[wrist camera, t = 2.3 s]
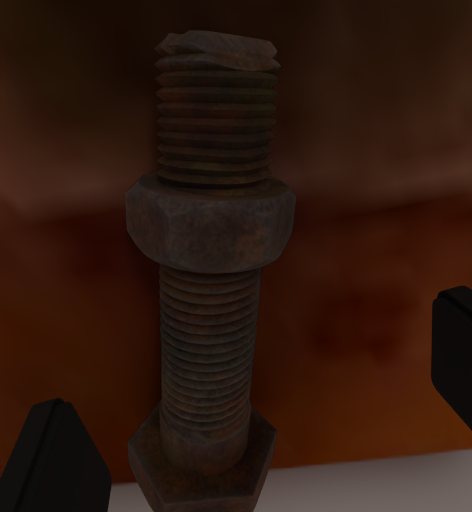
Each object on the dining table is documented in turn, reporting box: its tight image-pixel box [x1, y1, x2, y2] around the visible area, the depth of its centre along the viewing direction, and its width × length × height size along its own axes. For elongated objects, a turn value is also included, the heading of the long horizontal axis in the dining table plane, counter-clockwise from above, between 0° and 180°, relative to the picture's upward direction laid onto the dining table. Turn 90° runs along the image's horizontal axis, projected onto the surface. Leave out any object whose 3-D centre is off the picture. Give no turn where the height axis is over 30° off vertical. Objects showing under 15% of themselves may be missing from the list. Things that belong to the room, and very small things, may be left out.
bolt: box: [125, 30, 296, 512], centre depth 12 cm, size 6×5×15 cm
